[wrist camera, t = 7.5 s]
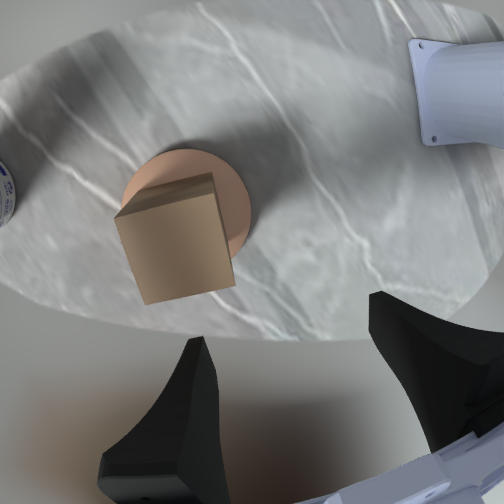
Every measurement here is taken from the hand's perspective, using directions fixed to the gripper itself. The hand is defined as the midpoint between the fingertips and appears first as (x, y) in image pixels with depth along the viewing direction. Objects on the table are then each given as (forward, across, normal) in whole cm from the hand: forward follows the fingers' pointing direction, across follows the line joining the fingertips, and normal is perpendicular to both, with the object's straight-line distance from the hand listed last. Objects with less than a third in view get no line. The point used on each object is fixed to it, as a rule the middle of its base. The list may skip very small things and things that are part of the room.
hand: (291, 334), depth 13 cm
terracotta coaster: (+9, +4, -4) cm, 11 cm away
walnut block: (+8, +4, -4) cm, 10 cm away
